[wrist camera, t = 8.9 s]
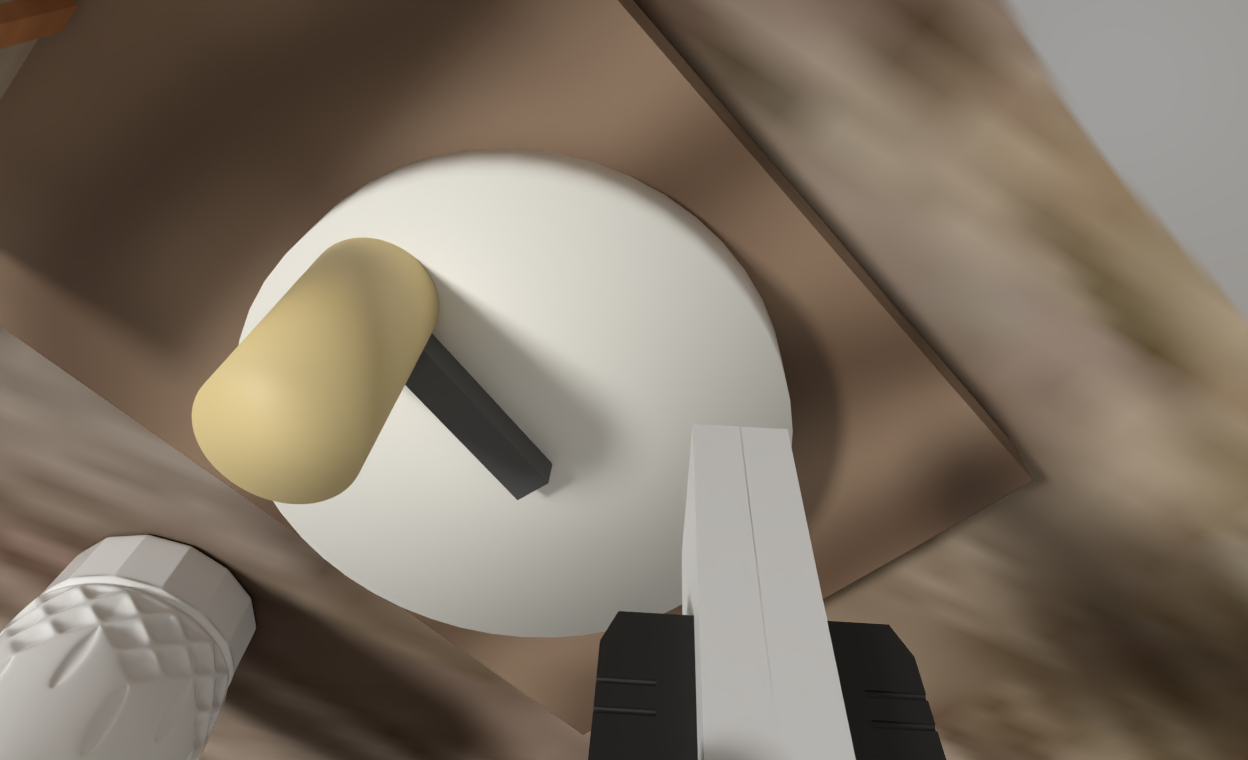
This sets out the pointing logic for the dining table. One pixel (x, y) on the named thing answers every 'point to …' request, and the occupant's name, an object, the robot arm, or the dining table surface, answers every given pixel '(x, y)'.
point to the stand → (402, 134)
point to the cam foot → (495, 388)
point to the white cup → (123, 655)
